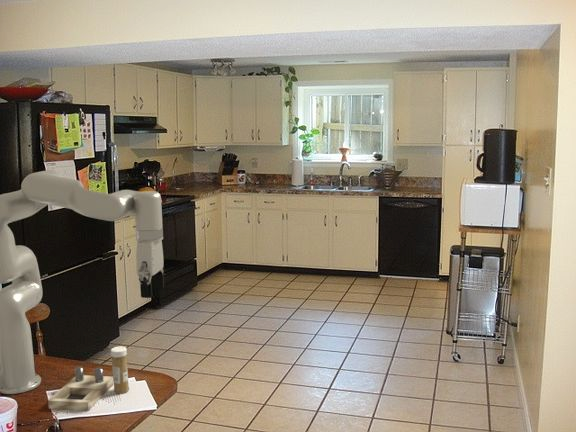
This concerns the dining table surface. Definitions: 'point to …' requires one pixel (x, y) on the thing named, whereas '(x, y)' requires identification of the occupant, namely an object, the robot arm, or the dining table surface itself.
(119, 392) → the sprinkles bottle
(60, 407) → the cream square frame
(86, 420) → the dining table surface
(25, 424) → the dining table surface
